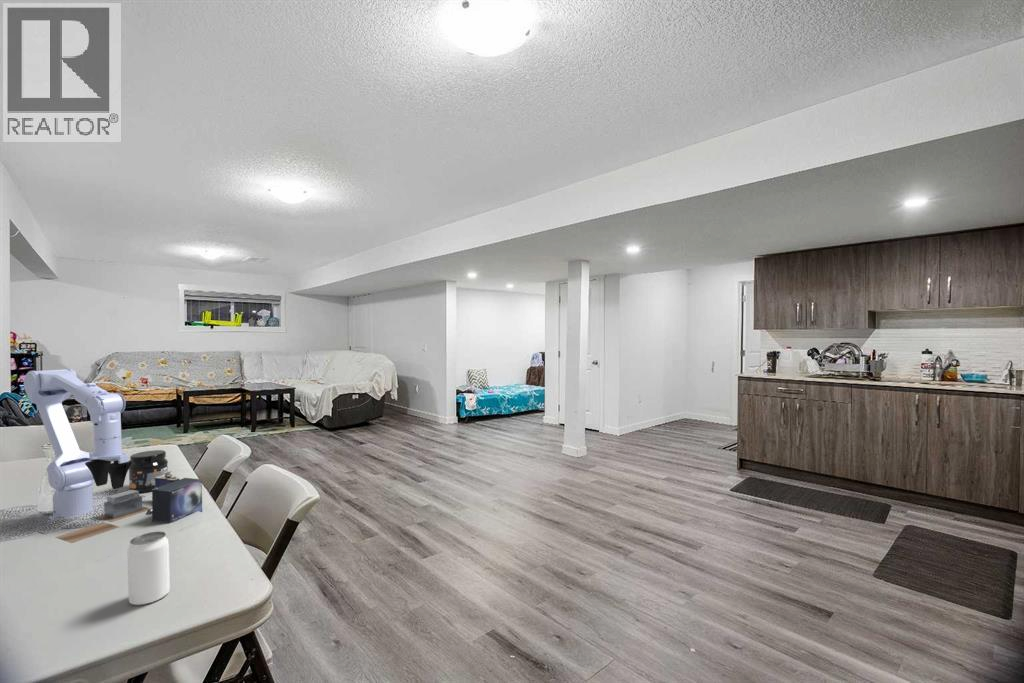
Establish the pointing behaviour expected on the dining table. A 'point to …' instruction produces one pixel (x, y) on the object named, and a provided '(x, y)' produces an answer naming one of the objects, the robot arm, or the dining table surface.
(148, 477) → the supplement container
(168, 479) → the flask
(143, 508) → the stand
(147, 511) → the loose bolt
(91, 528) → the stand
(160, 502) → the small box
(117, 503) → the block
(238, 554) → the dining table surface
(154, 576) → the can
